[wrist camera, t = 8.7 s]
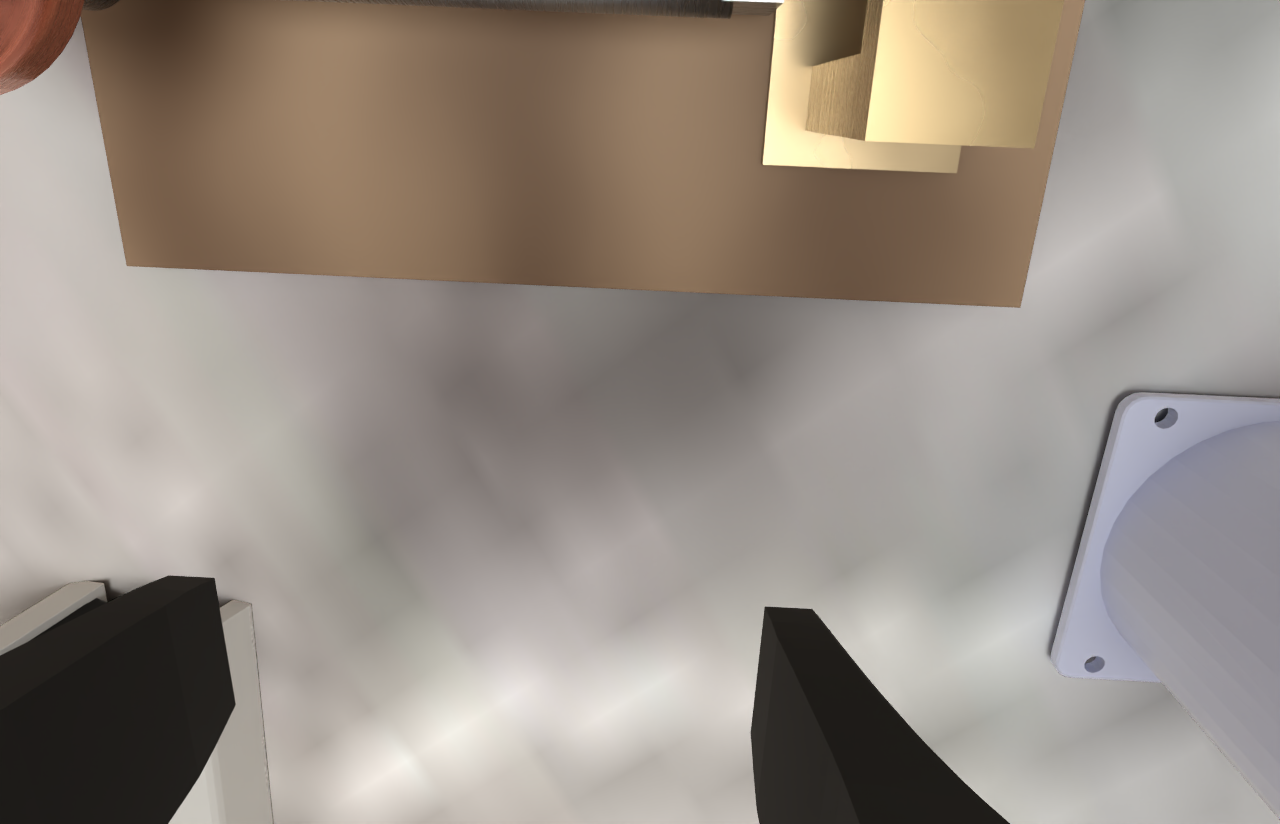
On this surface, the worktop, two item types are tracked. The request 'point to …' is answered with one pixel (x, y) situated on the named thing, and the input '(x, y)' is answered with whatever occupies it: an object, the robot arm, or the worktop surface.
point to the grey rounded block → (237, 769)
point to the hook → (52, 3)
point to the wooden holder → (905, 81)
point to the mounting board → (525, 156)
